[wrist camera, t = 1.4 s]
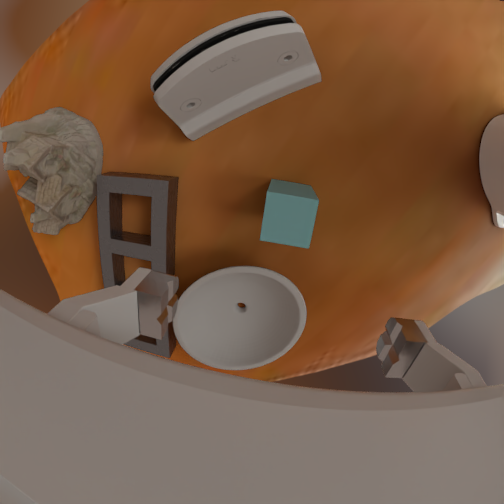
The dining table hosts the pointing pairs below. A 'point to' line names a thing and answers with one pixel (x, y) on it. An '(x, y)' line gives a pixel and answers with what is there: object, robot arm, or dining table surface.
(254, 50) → the white arch segment
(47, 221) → the ceramic cottage
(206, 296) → the dish
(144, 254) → the grey slotted board
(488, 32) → the dining table surface
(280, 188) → the square peg
